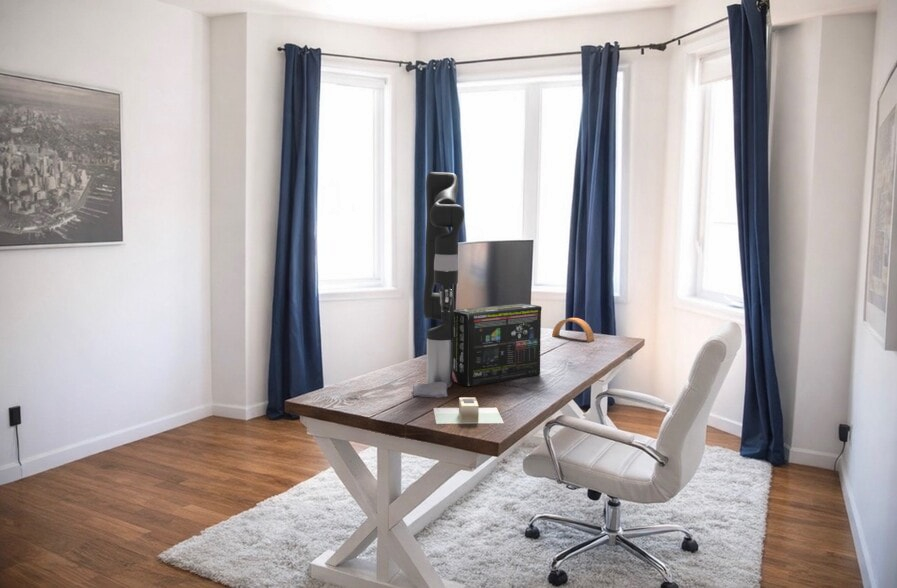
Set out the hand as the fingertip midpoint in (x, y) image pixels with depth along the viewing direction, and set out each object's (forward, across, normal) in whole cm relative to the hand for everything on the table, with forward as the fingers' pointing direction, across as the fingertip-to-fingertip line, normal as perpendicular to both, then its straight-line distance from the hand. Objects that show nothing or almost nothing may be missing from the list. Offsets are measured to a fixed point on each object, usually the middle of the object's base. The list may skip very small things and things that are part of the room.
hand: (445, 323), depth 225 cm
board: (+27, +12, +6) cm, 30 cm away
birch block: (+24, +10, +6) cm, 27 cm away
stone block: (+28, -13, -4) cm, 31 cm away
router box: (+27, -37, +22) cm, 51 cm away
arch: (+28, -116, +71) cm, 139 cm away
